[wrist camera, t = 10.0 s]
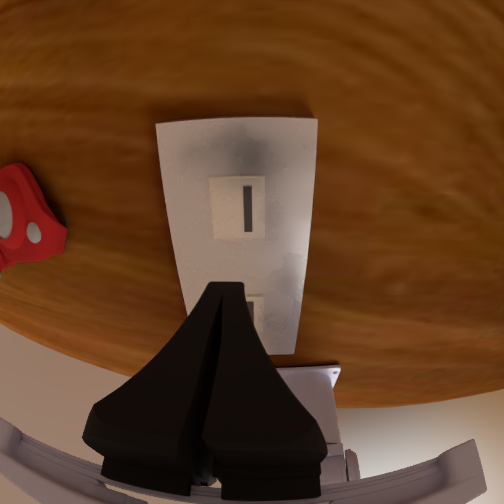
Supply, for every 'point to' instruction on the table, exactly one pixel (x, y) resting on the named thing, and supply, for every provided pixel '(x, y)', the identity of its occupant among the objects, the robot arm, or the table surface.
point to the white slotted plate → (242, 211)
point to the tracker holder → (26, 219)
